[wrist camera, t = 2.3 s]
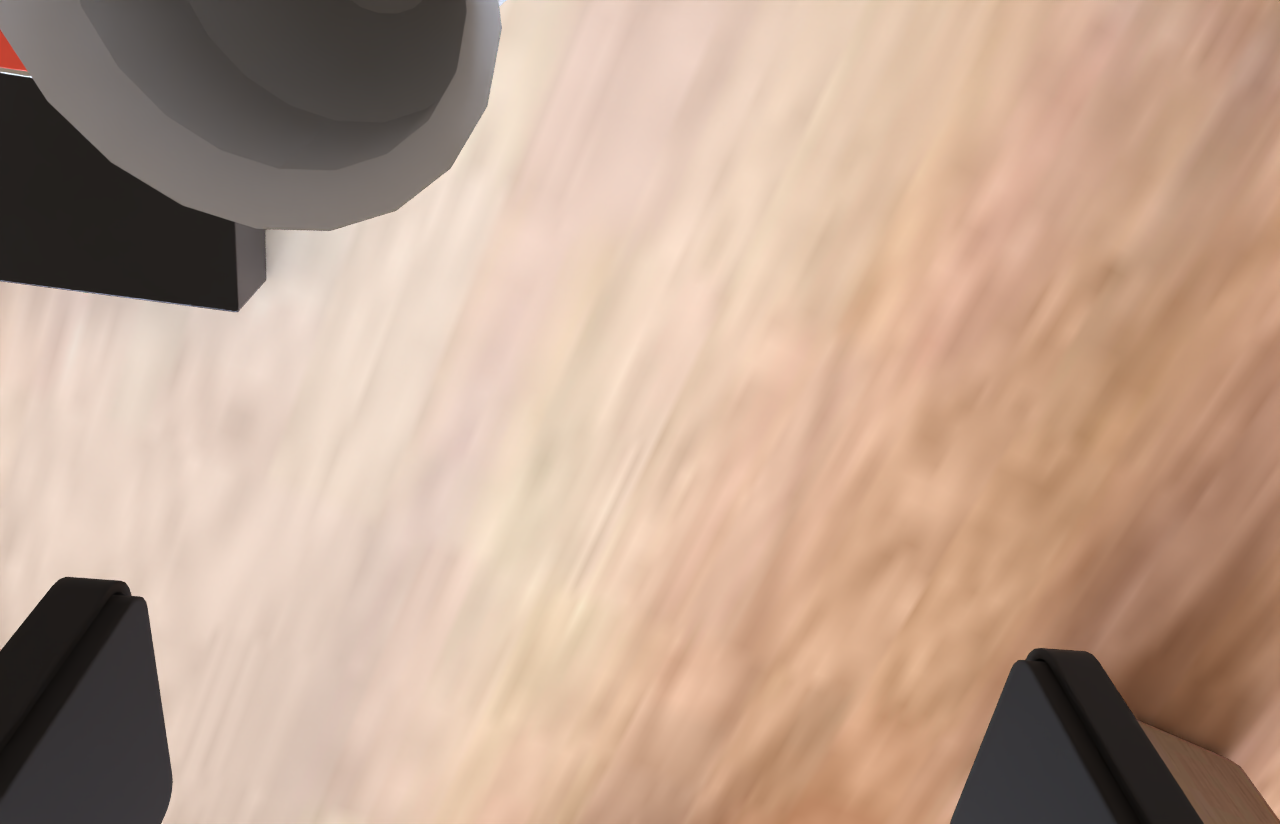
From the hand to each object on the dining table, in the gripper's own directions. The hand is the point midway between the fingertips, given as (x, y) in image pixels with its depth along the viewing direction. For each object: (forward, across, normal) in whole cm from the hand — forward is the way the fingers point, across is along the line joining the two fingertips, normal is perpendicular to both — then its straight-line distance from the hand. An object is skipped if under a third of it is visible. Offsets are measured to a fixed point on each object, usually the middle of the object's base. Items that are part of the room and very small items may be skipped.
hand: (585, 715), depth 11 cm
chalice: (+25, +5, -6) cm, 26 cm away
